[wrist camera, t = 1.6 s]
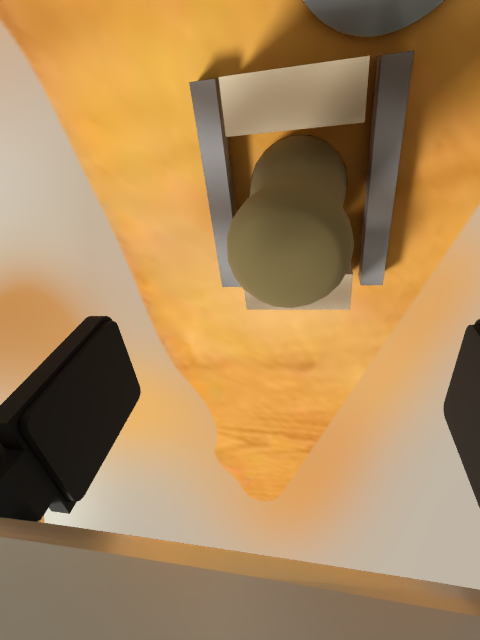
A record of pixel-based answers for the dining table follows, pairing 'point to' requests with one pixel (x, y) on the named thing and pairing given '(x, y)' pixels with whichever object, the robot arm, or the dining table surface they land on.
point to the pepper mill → (293, 225)
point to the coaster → (370, 14)
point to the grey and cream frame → (301, 113)
